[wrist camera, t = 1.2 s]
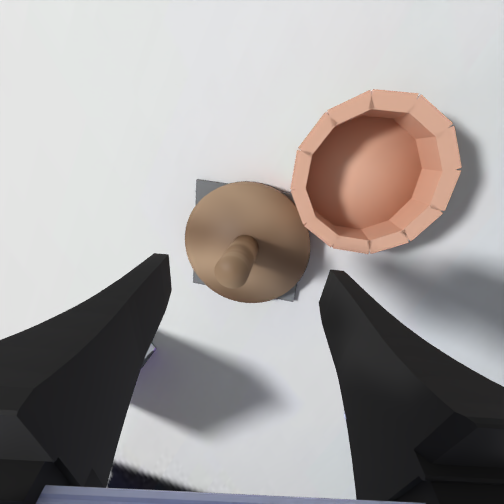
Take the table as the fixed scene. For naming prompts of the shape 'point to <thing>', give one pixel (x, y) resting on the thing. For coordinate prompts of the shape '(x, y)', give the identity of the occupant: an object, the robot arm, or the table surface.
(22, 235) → the table surface
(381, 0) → the table surface
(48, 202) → the table surface
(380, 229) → the bowl
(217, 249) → the lid
